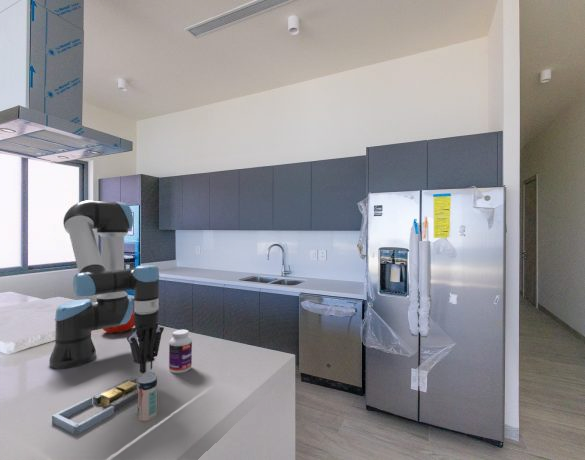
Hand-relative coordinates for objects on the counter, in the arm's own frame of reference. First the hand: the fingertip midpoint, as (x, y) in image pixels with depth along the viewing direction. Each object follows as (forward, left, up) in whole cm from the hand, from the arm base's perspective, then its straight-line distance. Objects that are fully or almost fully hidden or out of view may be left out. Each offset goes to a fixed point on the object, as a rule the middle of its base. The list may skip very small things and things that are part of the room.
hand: (145, 380), depth 101 cm
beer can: (+15, -11, -2) cm, 19 cm away
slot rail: (0, -8, -2) cm, 8 cm away
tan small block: (0, -12, -1) cm, 12 cm away
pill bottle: (+1, +14, -2) cm, 14 cm away
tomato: (-59, +31, -2) cm, 66 cm away
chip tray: (0, -19, -2) cm, 19 cm away
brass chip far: (0, -7, -1) cm, 7 cm away
